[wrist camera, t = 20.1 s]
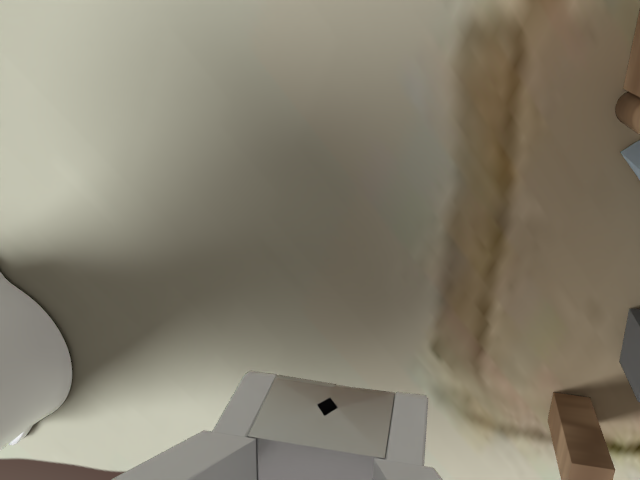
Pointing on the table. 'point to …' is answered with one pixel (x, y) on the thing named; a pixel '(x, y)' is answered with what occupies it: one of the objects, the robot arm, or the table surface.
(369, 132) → the table surface
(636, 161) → the gate
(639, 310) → the block
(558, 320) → the table surface
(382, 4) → the table surface
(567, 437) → the block
